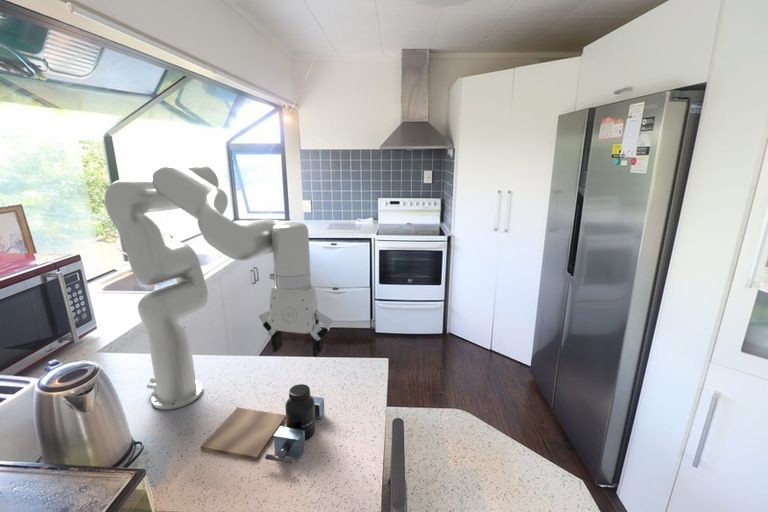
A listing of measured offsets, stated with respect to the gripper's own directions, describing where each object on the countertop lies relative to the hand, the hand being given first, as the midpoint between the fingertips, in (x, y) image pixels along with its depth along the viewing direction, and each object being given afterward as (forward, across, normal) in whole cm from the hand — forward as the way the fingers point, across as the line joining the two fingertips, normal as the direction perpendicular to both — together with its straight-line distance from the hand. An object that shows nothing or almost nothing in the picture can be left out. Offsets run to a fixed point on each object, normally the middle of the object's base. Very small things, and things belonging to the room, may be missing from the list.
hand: (297, 351), depth 83 cm
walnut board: (+22, -13, -3) cm, 26 cm away
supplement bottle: (+22, 0, 0) cm, 22 cm away
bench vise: (+22, 0, -2) cm, 22 cm away
